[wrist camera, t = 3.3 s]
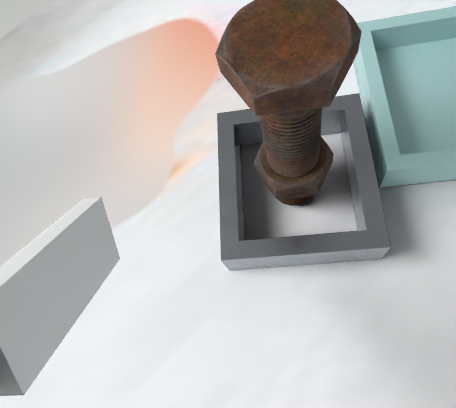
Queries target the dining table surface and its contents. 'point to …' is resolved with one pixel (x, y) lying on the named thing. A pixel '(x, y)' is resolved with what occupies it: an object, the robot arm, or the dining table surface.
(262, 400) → the dining table surface
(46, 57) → the dining table surface
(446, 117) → the tray
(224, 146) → the square frame
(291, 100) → the bolt
